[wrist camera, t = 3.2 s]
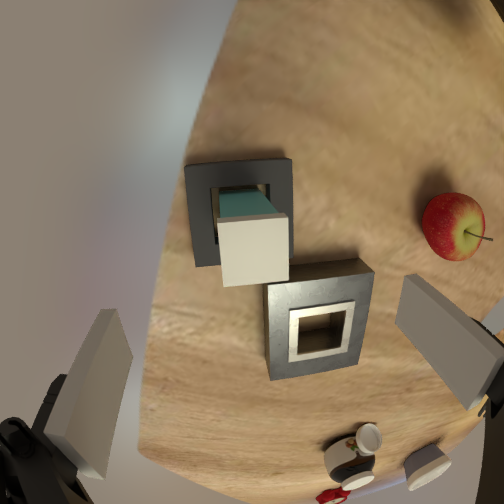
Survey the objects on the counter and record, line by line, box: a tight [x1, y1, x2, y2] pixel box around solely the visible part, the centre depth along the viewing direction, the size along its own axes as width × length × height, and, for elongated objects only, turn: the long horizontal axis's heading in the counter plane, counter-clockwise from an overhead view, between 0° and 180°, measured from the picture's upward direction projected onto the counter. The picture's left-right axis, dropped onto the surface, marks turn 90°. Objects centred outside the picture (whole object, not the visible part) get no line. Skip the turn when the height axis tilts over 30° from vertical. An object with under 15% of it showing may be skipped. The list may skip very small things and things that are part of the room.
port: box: [263, 258, 375, 381], centre depth 34 cm, size 14×12×4 cm
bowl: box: [404, 444, 451, 491], centre depth 61 cm, size 15×15×11 cm
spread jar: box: [324, 423, 382, 491], centre depth 45 cm, size 12×11×12 cm
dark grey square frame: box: [184, 158, 293, 267], centre depth 29 cm, size 10×10×2 cm
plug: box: [217, 188, 289, 287], centre depth 24 cm, size 4×4×12 cm
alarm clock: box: [316, 487, 351, 504], centre depth 65 cm, size 10×6×15 cm
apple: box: [422, 193, 493, 261], centre depth 29 cm, size 8×8×10 cm
